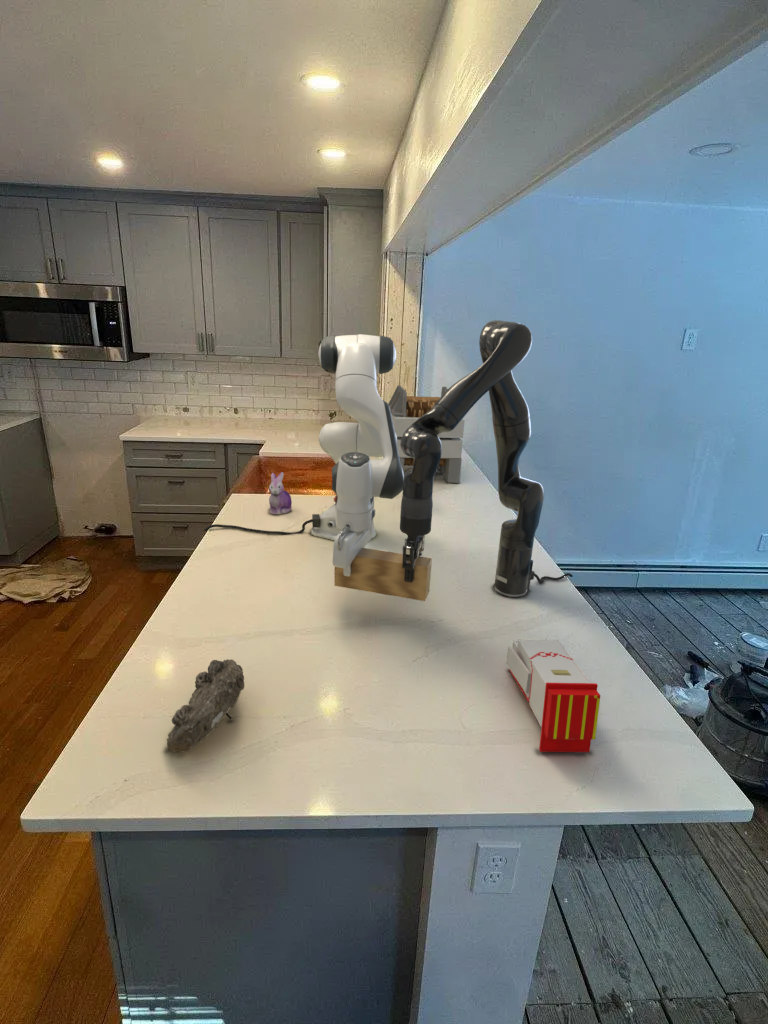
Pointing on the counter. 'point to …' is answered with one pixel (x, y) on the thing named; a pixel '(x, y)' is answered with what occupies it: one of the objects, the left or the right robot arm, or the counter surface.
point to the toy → (556, 694)
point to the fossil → (206, 705)
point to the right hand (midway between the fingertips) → (412, 575)
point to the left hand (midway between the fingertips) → (352, 569)
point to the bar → (386, 575)
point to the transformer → (412, 409)
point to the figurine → (278, 496)
